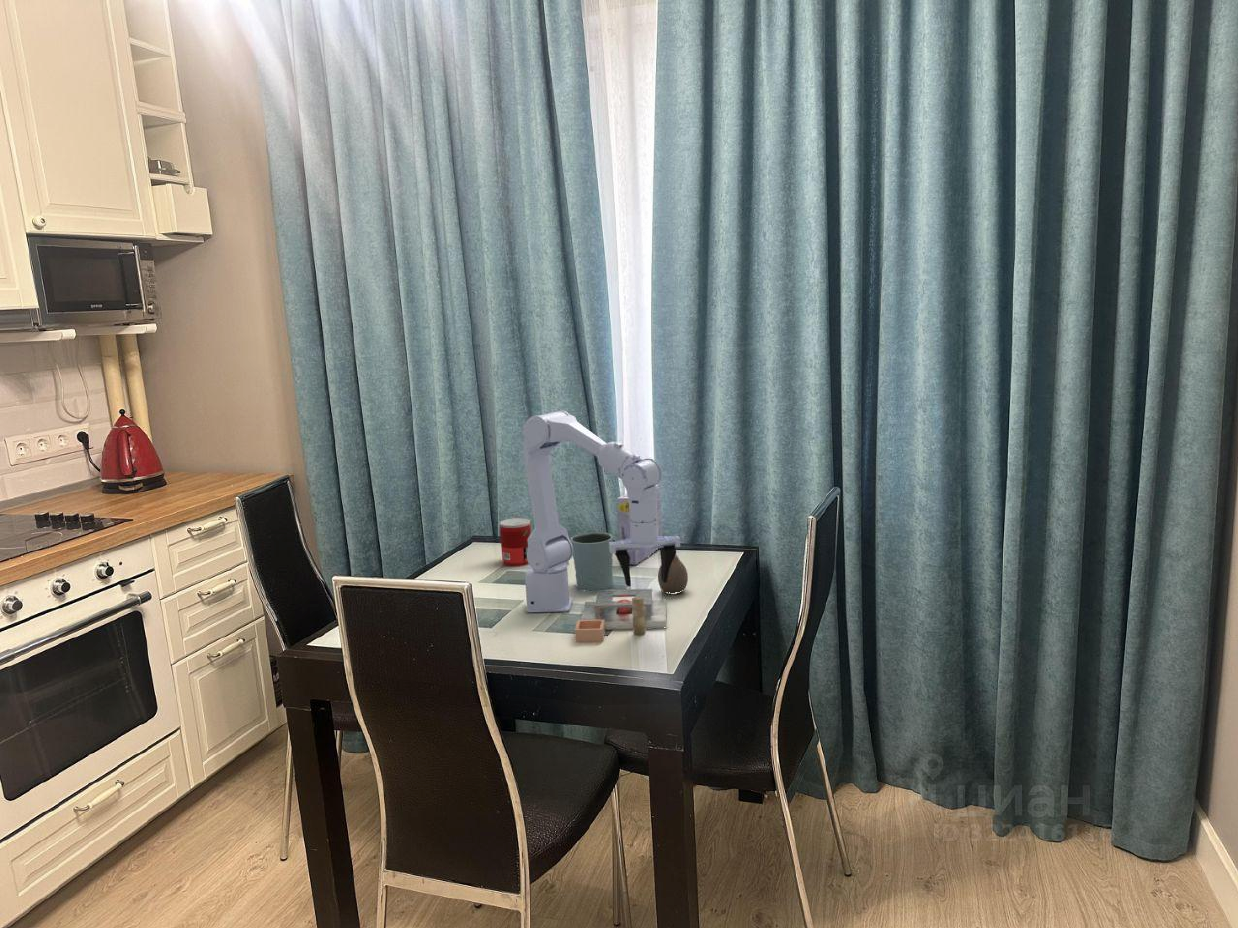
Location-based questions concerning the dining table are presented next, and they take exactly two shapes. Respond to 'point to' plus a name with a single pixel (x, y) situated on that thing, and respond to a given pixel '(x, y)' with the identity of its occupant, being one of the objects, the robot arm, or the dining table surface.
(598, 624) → the holder
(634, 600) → the stylus
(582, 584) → the green cylindrical pot
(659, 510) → the cake pan box
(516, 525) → the canned food
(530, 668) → the dining table surface
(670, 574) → the vase
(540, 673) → the dining table surface
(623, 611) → the button
